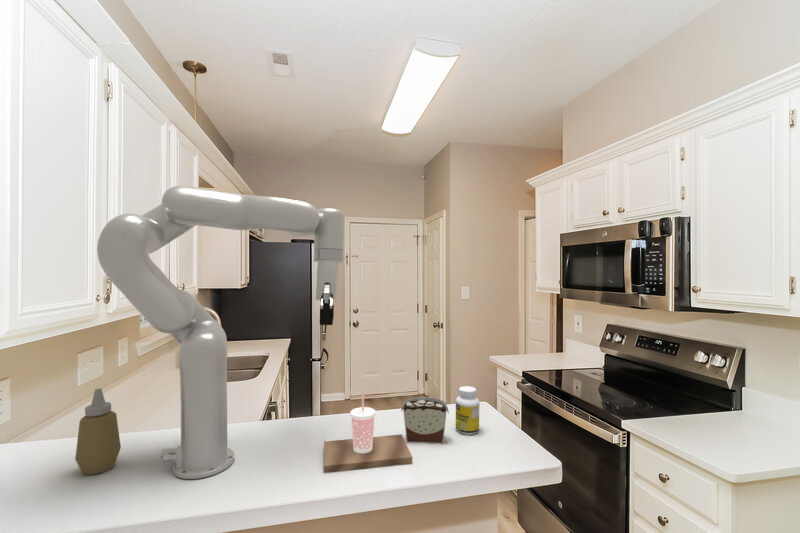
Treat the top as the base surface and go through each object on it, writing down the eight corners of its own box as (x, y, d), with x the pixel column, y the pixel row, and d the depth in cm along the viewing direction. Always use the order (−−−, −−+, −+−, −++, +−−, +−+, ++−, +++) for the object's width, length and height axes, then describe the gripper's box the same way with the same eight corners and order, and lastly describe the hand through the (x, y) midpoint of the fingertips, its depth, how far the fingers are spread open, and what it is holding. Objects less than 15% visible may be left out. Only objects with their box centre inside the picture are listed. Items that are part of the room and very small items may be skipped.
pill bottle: (451, 427, 108) (451, 386, 108) (472, 424, 110) (472, 384, 110) (462, 437, 102) (462, 393, 102) (483, 433, 104) (483, 391, 104)
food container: (448, 433, 104) (448, 397, 104) (448, 444, 98) (448, 405, 98) (403, 431, 105) (403, 395, 105) (401, 442, 99) (401, 403, 99)
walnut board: (324, 472, 84) (324, 466, 84) (324, 447, 96) (324, 441, 96) (412, 463, 88) (412, 457, 88) (401, 440, 100) (401, 434, 100)
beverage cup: (349, 444, 95) (348, 387, 95) (373, 441, 96) (373, 386, 96) (351, 456, 89) (351, 396, 89) (377, 453, 90) (377, 394, 90)
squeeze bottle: (84, 463, 89) (83, 386, 88) (125, 457, 92) (125, 382, 91) (68, 481, 81) (67, 397, 81) (114, 474, 84) (113, 392, 84)
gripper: (315, 257, 108) (314, 317, 107) (311, 255, 90) (309, 327, 90) (342, 257, 109) (341, 317, 109) (343, 256, 92) (341, 327, 92)
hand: (326, 322), depth 99 cm, fingers open, 9 cm apart
